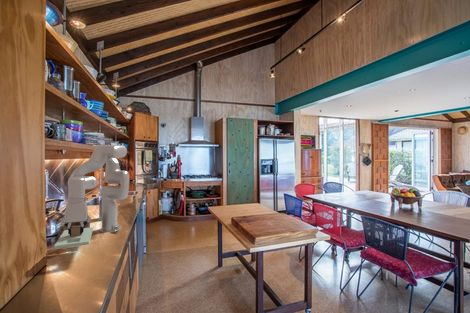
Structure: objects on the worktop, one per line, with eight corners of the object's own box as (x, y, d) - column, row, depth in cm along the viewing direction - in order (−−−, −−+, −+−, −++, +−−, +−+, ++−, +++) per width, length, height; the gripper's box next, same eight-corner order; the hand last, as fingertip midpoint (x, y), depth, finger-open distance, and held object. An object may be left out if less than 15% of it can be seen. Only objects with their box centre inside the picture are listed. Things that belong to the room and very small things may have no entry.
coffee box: (100, 217, 195) (101, 198, 195) (109, 217, 197) (109, 198, 197) (98, 220, 187) (99, 200, 187) (107, 219, 189) (108, 200, 189)
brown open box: (89, 229, 165) (90, 218, 165) (86, 241, 142) (86, 228, 142) (65, 232, 158) (66, 220, 158) (57, 245, 135) (57, 231, 135)
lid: (92, 229, 139) (93, 219, 139) (88, 244, 116) (89, 232, 116) (64, 232, 132) (64, 222, 132) (53, 249, 109) (54, 236, 109)
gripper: (95, 198, 132) (94, 230, 132) (58, 200, 124) (58, 234, 124) (94, 200, 125) (93, 234, 125) (55, 203, 117) (55, 239, 117)
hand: (75, 234), depth 125 cm, fingers closed on lid, 4 cm apart
